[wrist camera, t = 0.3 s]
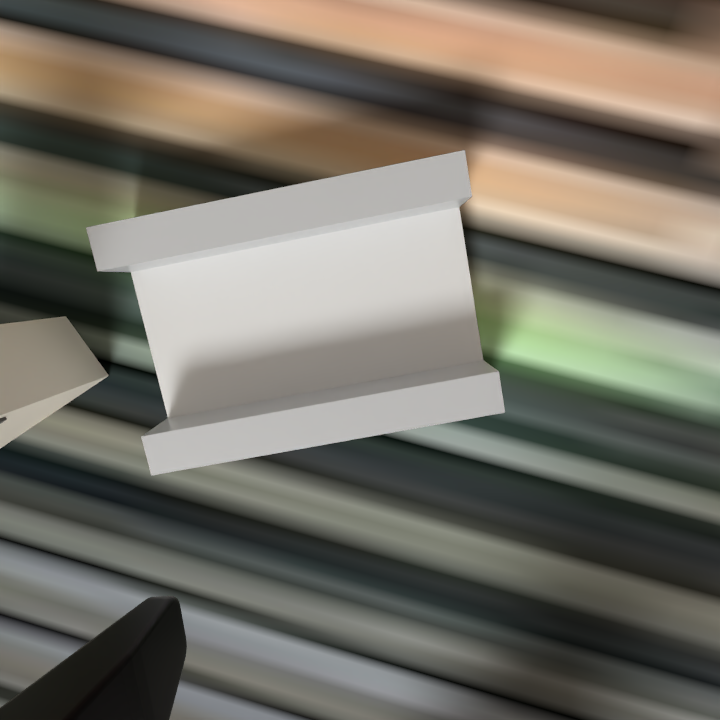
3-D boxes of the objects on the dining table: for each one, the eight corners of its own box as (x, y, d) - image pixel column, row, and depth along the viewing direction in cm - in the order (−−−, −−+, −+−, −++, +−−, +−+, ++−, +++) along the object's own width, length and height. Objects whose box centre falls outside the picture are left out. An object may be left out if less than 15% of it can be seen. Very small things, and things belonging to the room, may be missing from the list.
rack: (448, 171, 20) (464, 150, 17) (483, 391, 22) (505, 412, 18) (132, 235, 21) (86, 227, 18) (185, 445, 22) (151, 475, 19)
